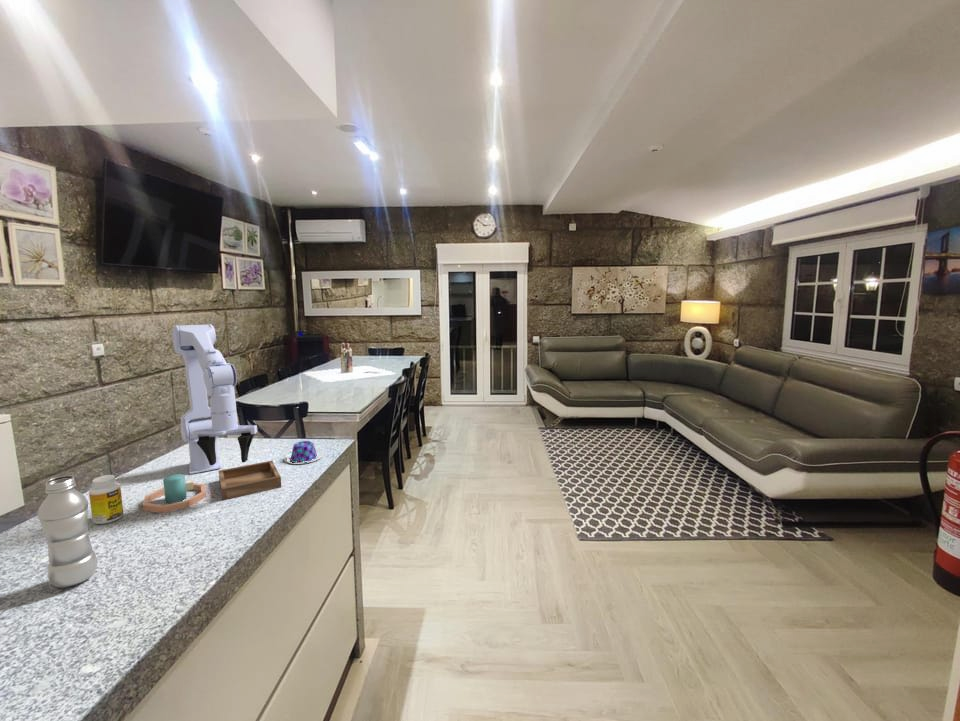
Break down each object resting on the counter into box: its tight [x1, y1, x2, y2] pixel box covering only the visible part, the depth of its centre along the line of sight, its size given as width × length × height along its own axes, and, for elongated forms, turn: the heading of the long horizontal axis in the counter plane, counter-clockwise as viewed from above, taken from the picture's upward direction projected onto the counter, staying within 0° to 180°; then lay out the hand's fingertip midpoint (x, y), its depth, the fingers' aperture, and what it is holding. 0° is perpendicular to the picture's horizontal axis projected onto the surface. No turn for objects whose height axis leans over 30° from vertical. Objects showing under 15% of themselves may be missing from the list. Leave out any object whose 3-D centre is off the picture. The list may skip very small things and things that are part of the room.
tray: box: [218, 460, 282, 501], centre depth 119 cm, size 14×14×3 cm
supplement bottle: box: [88, 474, 124, 525], centre depth 99 cm, size 6×6×10 cm
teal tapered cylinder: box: [162, 473, 194, 505], centre depth 110 cm, size 4×6×6 cm
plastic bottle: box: [37, 474, 98, 589], centre depth 77 cm, size 6×7×20 cm
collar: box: [142, 482, 207, 514], centre depth 110 cm, size 13×13×2 cm
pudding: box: [283, 440, 324, 465], centre depth 138 cm, size 12×12×5 cm
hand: (229, 462), depth 110 cm, fingers open, 7 cm apart
